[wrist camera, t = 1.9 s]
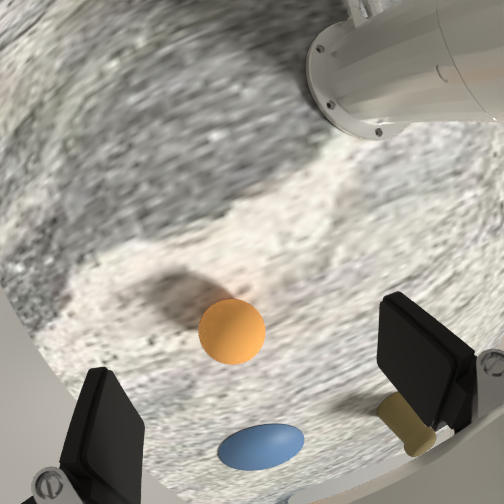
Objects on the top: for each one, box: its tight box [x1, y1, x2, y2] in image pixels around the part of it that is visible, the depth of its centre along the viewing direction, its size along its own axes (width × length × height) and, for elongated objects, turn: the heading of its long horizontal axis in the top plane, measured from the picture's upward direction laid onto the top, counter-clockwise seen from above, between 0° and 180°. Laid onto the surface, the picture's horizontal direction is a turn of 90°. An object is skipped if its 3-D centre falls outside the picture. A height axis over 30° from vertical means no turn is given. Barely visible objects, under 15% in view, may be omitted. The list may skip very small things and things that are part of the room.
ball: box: [199, 299, 265, 365], centre depth 27 cm, size 6×6×6 cm
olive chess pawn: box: [377, 392, 436, 457], centre depth 36 cm, size 6×6×11 cm
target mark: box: [219, 424, 304, 471], centre depth 38 cm, size 13×13×1 cm
